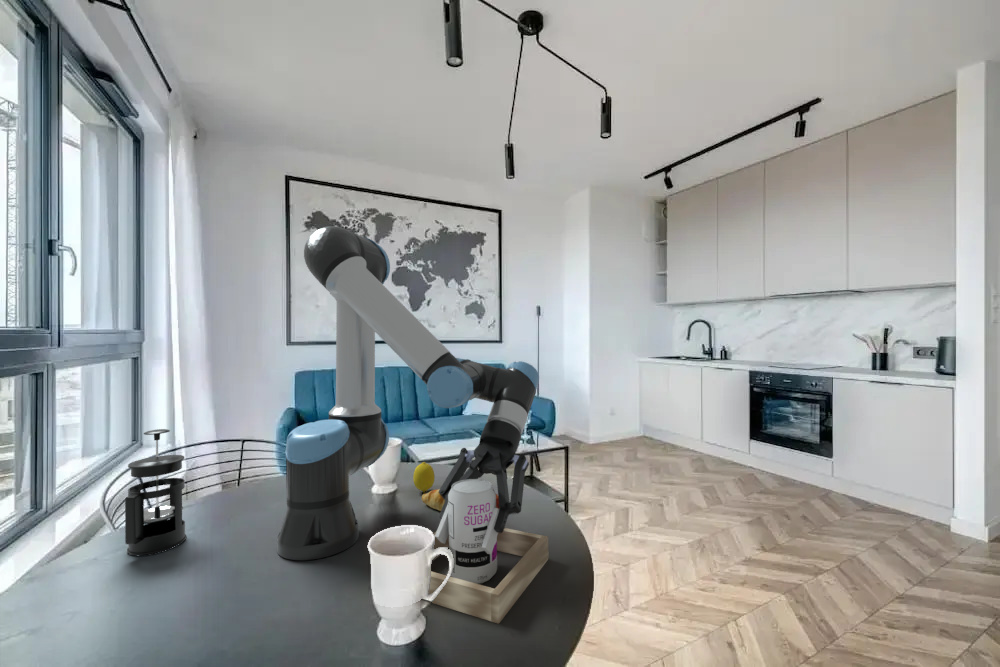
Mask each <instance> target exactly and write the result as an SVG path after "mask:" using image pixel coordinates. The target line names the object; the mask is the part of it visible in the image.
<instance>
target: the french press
mask: <svg viewBox="0 0 1000 667" xmlns="http://www.w3.org/2000/svg"><path fill="white" fill-rule="evenodd" d="M170 431H171V430H170V429H165V428H161V429H160V428H159V429H158V428H157V429H151V430H148V431H145V432H143V435H144V436H148V435H149V436H150V435H151V436H153V441H155V456H151V457H146V458H141V459H138V460H135V461H131V462H129V464H127V467H128V468H129V469H130V476H131V477H132V478H138V479H139V478H141V479H143V478H152V477H155V479H154V480H149V481H145V482H144V481H143V482H141V483H138V484H135V485H133V486H131V487H129V488H128V490H127V496H126V497H125V499H124V500H125V501H124V502H125V503H124V509H125V510H124V512H125V514H124V515H125V516H124V517H125V518H124V522H125V525H124V526H125V527H124V531H125V532H124V534H125V535H124V536H125V537H124V538H125V540H124V541H125V545H128V546H127V549H126V554H128V553H129V554H130V555H129V554H128V555H129V556H131V555H146V556H150V555H149V554H152V555H155V553H157V554H159V553H158V552H161V553H163V552H162V551H164V552H166V551H165V550H167V551H169V550H168V549H170V548H172V547H174V546H176V545H178V544H180V543H181V542H183V541H184V540H185V539H187V534H186V521H185V520H183V509H184V506H183V490H184V489H185V487H186V486H185V485H186V484H185V483H186V481H185V479H184V478H180V477H167V478H160V479H159V477H160V476H164V475H169V474H172V473H176V472H178V471H180V470H181V469H182V468H183V461H184V460H185V455H182V454H170V455H169V454H166V455H159V441H160V439H161V434H166V433H169V432H170ZM168 485H169V487H167V488H163V489H159V486H160V487H161V486H168ZM153 487H155V489H156V490H151V491H144V492H143V491H141V490H145V489H149V488H150V489H151V488H153ZM166 496H169V505H167V504H166V505H160V504H159V502H160V500H159V498H162V497H166ZM150 499H151V500H152V499H155V500H156V501H155V502H156V503H155V506H154V507H151V508H150V507H149V508H147V509H145V508H144V505H145V504H144V503H145V500H150ZM185 541H186V540H185ZM185 541H184V542H185ZM184 542H183V543H184ZM180 545H181V544H180ZM178 546H179V545H178ZM174 548H175V547H174ZM172 549H173V548H172ZM170 550H171V549H170Z"/></svg>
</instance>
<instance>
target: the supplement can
mask: <svg viewBox="0 0 1000 667" xmlns="http://www.w3.org/2000/svg"><path fill="white" fill-rule="evenodd" d="M496 494H497V493H496V491H495V489H494V487H493V484H492V482H490V481H489V480H486V479H479V478H478V479H467V480H461V481H458V482H456V483H454V484H453V485H452V488H451V490H450V492H449V494H448V526H449V549H450V550H451V552H452V554H453V558H454V568H453V572H452V575H450V577H454V578H457V579H461V580H465V581H468V582H472V583H476V584H479V585H481V584H483V583H486V582H488V581H490V579H491V578H493V576H495V574H496V573H497V570H498V551H497V538H496V541H495V545H494V548H493V551H492V554H487V553H486V552H485V550H484V549H483V548H482V544H483V540H484V537H485V534H486V531H487V528H488V525H489V522H490V519H491V516H492V513H493V510H494V508H496ZM449 549H448V550H449Z"/></svg>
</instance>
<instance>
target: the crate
mask: <svg viewBox="0 0 1000 667" xmlns="http://www.w3.org/2000/svg"><path fill="white" fill-rule="evenodd" d="M436 532H437V530H436V531H435V532H433V533H432V534H434V535H435V534H436ZM438 547H448V548H449V535H448V537H447V540H446V542H445V544H444V543H441V542H440V541H439V540H438V539H437V538H436V537H435V545H434V549H436V548H438ZM497 552H501V553H506V554H510V555H515V556H519V557H521V558H520V559H519V561H518V562H517V563H516V564H515V565H514V566H513V567H512V569H510V570H509V572H508V573H507V574H506V576H505V577H504V578H503V579H502V580H501V581H500V582H499V583H498V585H497V586H496V587H495V588H493V587H490V586H486V585H483V584H476V583H472V582H468V581H465V580H461V579H457V578H454V577H452V576H450V578H449V579H448V581H447V583H446V585H445V586H444V587H443V589H442V590H441V591H440V593H439V594H438V595H437V597H436V598H435V599H434V601H433V602H432V604H435V605H438V606H441V607H443V608H447V609H450V610H452V611H455V612H456V611H457V612H460V613H463V614H466V615H469V616H473V617H476V618H479V619H482V620H485V621H489V622H491V623H494V624H498V625H499V624H500V623H501V622H502V621H503V620H504V618H505V616H506V615H507V614H508V613H509V611H510V610H511V609H512V607H513V606H514V605H515V604H516V603H517V601H518V600H519V599H520V597H521V596H522V594H523V593H524V592H525V591H526V589H527V588H528V587H529V585H530V584H531V583H532V581H533V580H534V578H536V576H537V575H538V573H539V572H540V571H541V570H542V569H543V567H544V565H545V564H546V563H547V562H548V561H549V559H550V558H549V556H550V554H549V536H546V535H541V534H536V533H532V532H527V531H523V530H522V531H521V530H516V529H512V528H507V527H505V528H504V531H503V532H502V533H498V535H497ZM440 556H441V555H438V556H436V557H435V558H434V559H433V561H435V560H436V559H437V558H439V557H440ZM430 571H431V582H430V589H429V594H431V593H433V592H434V591H435V590H436V589H437V588H438V587H439V586H440V585H441V584H442V582H443V581H444V579H445V578H446V576H447V575H445V574H441V573H438V572H435V571H432V570H430Z"/></svg>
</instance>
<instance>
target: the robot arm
mask: <svg viewBox="0 0 1000 667" xmlns="http://www.w3.org/2000/svg"><path fill="white" fill-rule="evenodd" d="M303 258H304V262H305V264H306V267H307V269H308V270H309V272H310V274H311V275H313V276H312V277H314V278H315V279H316V281H318V283H320V284H321V285H322V287H324V289H326V291H327V292H328V293H329V294H330V295H331V296H332V297H333V298H334V300H335V301H336V316H335V317H336V318H335V320H336V323H335V324H336V325H335V327H336V328H335V330H336V332H335V335H336V337H335V338H336V339H335V342H336V343H335V344H336V345H335V349H336V350H335V353H336V354H335V405H334V406H333V407H332V408H331V409H330V410H329V411H328V419H320V420H316V421H314V422H307V423H304V424H302V425H299V426H296V427H295V428H293V429H292V430H291V431H290V432H289V434H288V435H287V437H286V445H285V446H286V448H285V452H284V455H285V457H284V458H285V471H286V472H285V474H286V476H285V477H286V478H285V479H286V480H285V481H286V482H285V484H286V510H285V512H284V513H285V514H284V516H283V519H282V522H281V523H282V524H281V527H280V531H279V533H278V536H277V539H276V552H277V554H278V555H279V556H280V557H282V558H284V559H285V560H286V559H287V560H292V561H311V560H312V561H313V560H317V559H322V558H323V559H324V558H327V557H330V556H333V555H336V554H339V553H341V552H344V551H345V550H347V549H349V548H350V547H352V546H353V545H355V543H357V541H358V539H359V537H360V528H359V527H360V526H359V521H358V519H357V518H356V513H355V511H354V508H353V505H352V502H351V499H350V476H353V475H354V474H356V473H358V472H360V471H361V470H363V469H365V468H368V467H369V466H372V465H373V464H374V463H376V461H378V460H379V459H380V458H381V457H382V456H383V455H384V454H385V452H386V451H387V448H388V446H389V444H390V443H389V442H390V430H389V428H388V425H387V424H386V423H385V422H384V419H383V418H382V408H380V406H378V405H377V404H376V403H375V401H376V400H375V399H376V398H375V396H376V394H375V393H376V392H375V390H376V388H375V387H376V380H375V379H376V376H375V375H376V365H375V364H376V334H377V336H378V337H380V338H381V340H383V342H384V343H385V344H386V345H387V346H388V347H389V348H390V349H391V350H392V351H393V352H394V353H395V354H396V355H397V356H398V357H399V358H400V359H401V360H402V361H403V362H404V364H405V365H407V367H408V368H410V369H411V370H412V371H413V373H415V375H416V376H417V377H418V378H420V379H421V380H422V381H423V383H424V384H425V385H426V390H427V395H428V397H429V399H430V401H431V402H433V403H434V404H435V405H436V406H438V407H439V408H444V409H452V408H457V407H461V406H462V405H465V404H467V403H468V402H469V401H472V400H474V399H479V400H483V401H487V402H490V403H493V404H492V407H491V409H490V412H489V414H488V416H487V419H486V423H485V424H484V428H483V429H482V432H481V435H480V437H479V442H478V445H477V446H476V447H475V448H474V449H470V450H468V449H467V448H466V447H462V448H461V449H460V452H459V455H458V459H457V460H456V462H455V464H454V465H453V467H452V469H451V470H450V472H449V473H448V475H447V477H446V478H445V480H444V481H443V483H442V485H441V487H440V488H439V489H440V490H439V494H440V495H441V496H442V497H443V499H444V500H445V503H444V505H443V507H442V510H441V511H439V512H440V513H439V519H440V522H439V524H438V527H437V529H436V531H437V532H436V531H435V532H436V534H435V537H436V538H437V539H438V540H439V541H440V542H441V543H444V544H445V542H446V540H447V537H448V535H449V526H448V494H449V492H450V490H451V488H452V485H453V484H454V483H456V482H458V481H461V480H467V479H479V478H482V477H483V476H484V475H488V474H491V475H494V476H496V483H497V484H496V485H497V495H498V497H499V504H498V506H499V507H500V508H499V509H498V508H494V510H493V513H492V516H491V519H490V522H489V525H488V528H487V531H486V534H485V537H484V540H483V544H482V548H483V549H484V550H485V552H486V553H487V554H492V551H493V548H494V545H495V541H496V538H497V535H498V533H502V532H503V531H504V528H506V524H507V520H508V517H509V516H510V514H513V513H515V514H520V513H521V511H522V508H523V507H522V506H523V495H524V486H525V478H526V477H525V475H526V471H527V469H528V467H529V465H530V464H529V463H530V462H529V461H528V459H527V457H526V455H525V454H520V455H517V454H516V453H517V451H518V448H519V446H520V443H521V442H520V441H521V439H522V434H523V433H524V429H525V427H526V423H527V420H528V416H529V413H530V411H531V407H532V405H533V402H534V399H535V396H536V394H537V389H538V385H539V382H540V375H539V372H538V369H536V367H534V366H533V365H532V364H531V363H528V362H525V361H523V360H522V361H512V362H510V364H509V365H508V366H507V367H506V369H505V368H503V367H497V366H496V367H495V366H492V365H488V364H484V363H481V362H477V361H473V360H471V359H468V358H466V359H465V358H460V357H456V356H455V355H453V354H452V352H451V351H450V350H449V349H448V348H447V347H446V346H444V344H443V343H442V342H441V341H440V340H439V339H438V338H437V337H436V336H435V335H434V334H433V333H432V332H431V331H430V330H429V329H428V328H426V326H425V325H424V324H423V323H422V322H421V321H420V320H419V319H418V318H417V317H415V315H414V314H413V313H412V312H411V311H410V310H409V309H408V308H407V307H406V306H405V305H404V304H403V303H402V302H401V301H400V300H399V299H398V298H397V297H396V296H395V295H394V294H393V293H392V292H391V291H390V290H389V289H388V288H387V287H386V286H385V285H384V284H385V282H386V281H387V280H388V278H389V276H390V273H391V264H390V262H391V261H390V258H389V256H388V254H387V252H386V250H385V249H384V248H383V247H382V246H381V245H379V244H377V243H376V241H374V240H372V239H370V238H369V237H365V236H362V235H359V234H357V233H354V232H352V231H350V230H348V229H346V228H344V227H342V226H335V225H334V226H333V225H331V226H324V227H321V228H319V229H317V230H315V231H314V232H313V233H312V234H310V235H309V237H308V238H307V240H306V242H305V245H304V248H303ZM473 459H474V460H473ZM511 465H514V468H513V469H514V470H513V477H512V485H511V491H510V492H511V493H510V494H509V487H508V472H507V469H508V468H510V466H511ZM468 467H469V468H468ZM509 495H510V496H509Z"/></svg>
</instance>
